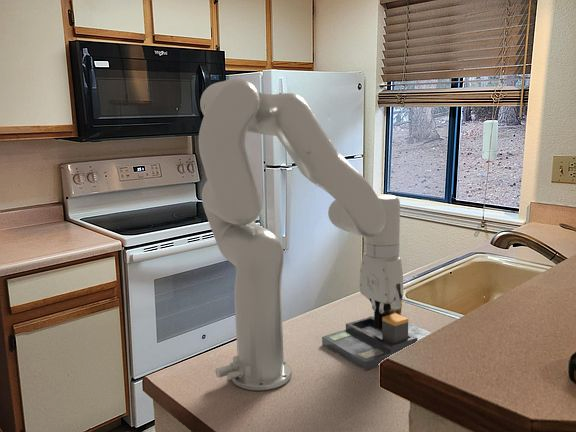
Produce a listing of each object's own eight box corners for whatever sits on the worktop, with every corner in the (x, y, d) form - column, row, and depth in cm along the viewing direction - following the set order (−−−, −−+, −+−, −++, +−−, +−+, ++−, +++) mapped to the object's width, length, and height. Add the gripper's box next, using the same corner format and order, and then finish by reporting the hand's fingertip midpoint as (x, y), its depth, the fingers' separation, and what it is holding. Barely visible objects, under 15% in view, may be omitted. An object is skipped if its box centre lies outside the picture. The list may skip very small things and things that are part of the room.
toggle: (394, 348, 116) (394, 322, 115) (382, 342, 119) (382, 317, 118) (408, 343, 118) (408, 318, 117) (395, 337, 121) (395, 313, 120)
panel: (365, 370, 111) (365, 355, 110) (322, 344, 124) (321, 330, 123) (439, 344, 122) (439, 330, 122) (392, 322, 135) (392, 310, 135)
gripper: (347, 246, 122) (348, 320, 126) (394, 259, 110) (393, 342, 114) (371, 241, 126) (371, 313, 130) (419, 253, 114) (417, 333, 118)
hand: (381, 326), depth 122 cm, fingers closed
